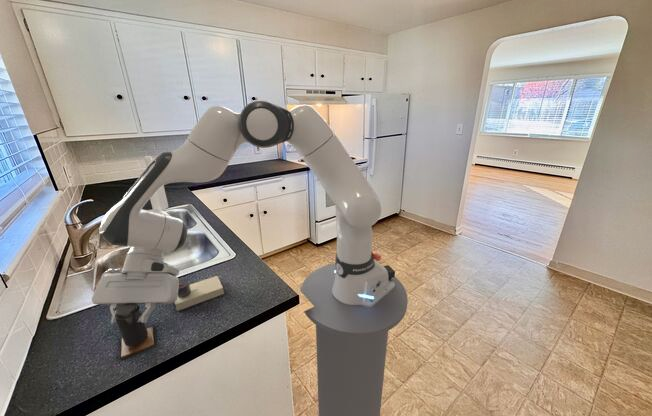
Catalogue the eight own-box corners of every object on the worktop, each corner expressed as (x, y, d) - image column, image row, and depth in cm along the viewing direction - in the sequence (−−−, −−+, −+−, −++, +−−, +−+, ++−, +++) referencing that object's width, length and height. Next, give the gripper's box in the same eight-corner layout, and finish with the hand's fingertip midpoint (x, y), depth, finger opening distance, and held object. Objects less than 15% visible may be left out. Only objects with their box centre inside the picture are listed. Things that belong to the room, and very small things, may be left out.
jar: (147, 327, 74) (138, 298, 70) (148, 340, 70) (138, 310, 66) (124, 336, 71) (113, 306, 67) (124, 350, 67) (112, 319, 63)
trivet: (152, 328, 75) (152, 326, 75) (154, 345, 70) (153, 343, 70) (122, 339, 72) (121, 338, 71) (121, 358, 66) (120, 357, 66)
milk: (161, 211, 159) (152, 174, 150) (152, 210, 159) (143, 174, 151) (169, 207, 164) (160, 172, 156) (160, 206, 165) (151, 171, 157)
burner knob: (190, 287, 88) (188, 278, 86) (191, 294, 84) (189, 284, 83) (176, 292, 86) (174, 282, 84) (177, 299, 82) (175, 289, 81)
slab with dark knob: (218, 281, 95) (216, 275, 94) (224, 294, 88) (223, 287, 87) (170, 297, 87) (168, 291, 86) (173, 312, 81) (171, 305, 80)
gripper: (95, 266, 70) (76, 323, 64) (174, 265, 70) (162, 322, 65) (112, 270, 76) (97, 324, 70) (185, 269, 76) (175, 322, 70)
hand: (129, 323), depth 67 cm, fingers closed on jar, 5 cm apart
